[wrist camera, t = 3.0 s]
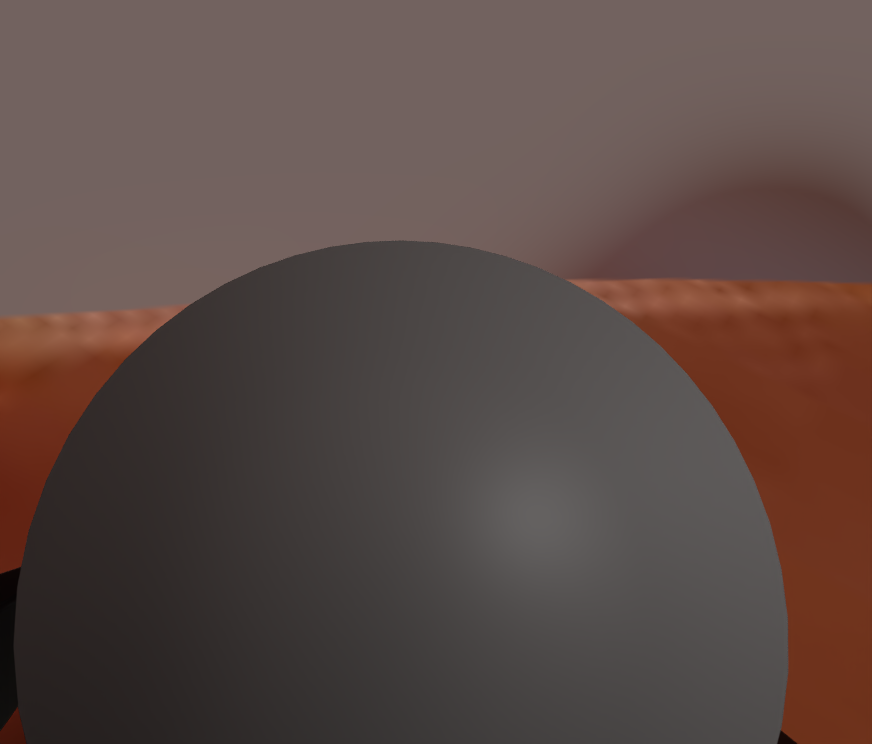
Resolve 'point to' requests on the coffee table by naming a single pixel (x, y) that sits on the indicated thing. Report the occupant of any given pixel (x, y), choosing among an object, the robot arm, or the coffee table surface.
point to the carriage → (400, 525)
